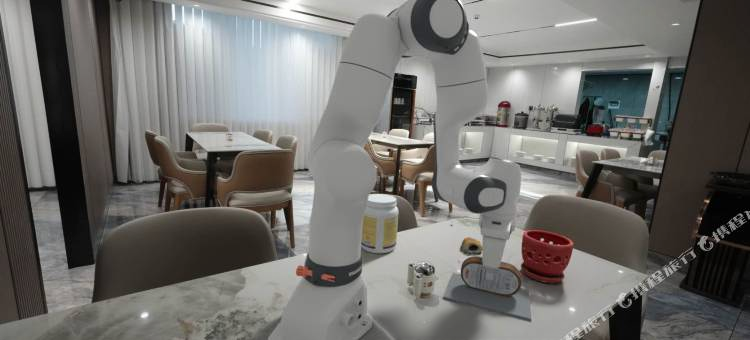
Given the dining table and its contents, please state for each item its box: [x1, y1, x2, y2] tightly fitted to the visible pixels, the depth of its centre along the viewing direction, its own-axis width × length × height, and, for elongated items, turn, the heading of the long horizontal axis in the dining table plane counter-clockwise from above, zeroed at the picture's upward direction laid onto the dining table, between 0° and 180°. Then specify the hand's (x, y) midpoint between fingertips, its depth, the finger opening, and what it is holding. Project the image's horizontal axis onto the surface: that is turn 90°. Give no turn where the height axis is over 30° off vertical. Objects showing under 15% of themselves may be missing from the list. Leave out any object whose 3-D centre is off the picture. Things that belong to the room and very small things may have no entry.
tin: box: [459, 255, 523, 296], centre depth 88 cm, size 15×3×8 cm, turn 68°
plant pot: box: [520, 229, 575, 284], centre depth 100 cm, size 13×13×12 cm
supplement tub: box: [361, 193, 400, 254], centre depth 113 cm, size 12×12×17 cm
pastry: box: [461, 237, 483, 254], centre depth 118 cm, size 9×7×4 cm
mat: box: [443, 272, 532, 322], centre depth 88 cm, size 14×20×1 cm
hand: (490, 270), depth 90 cm, fingers open, 8 cm apart
